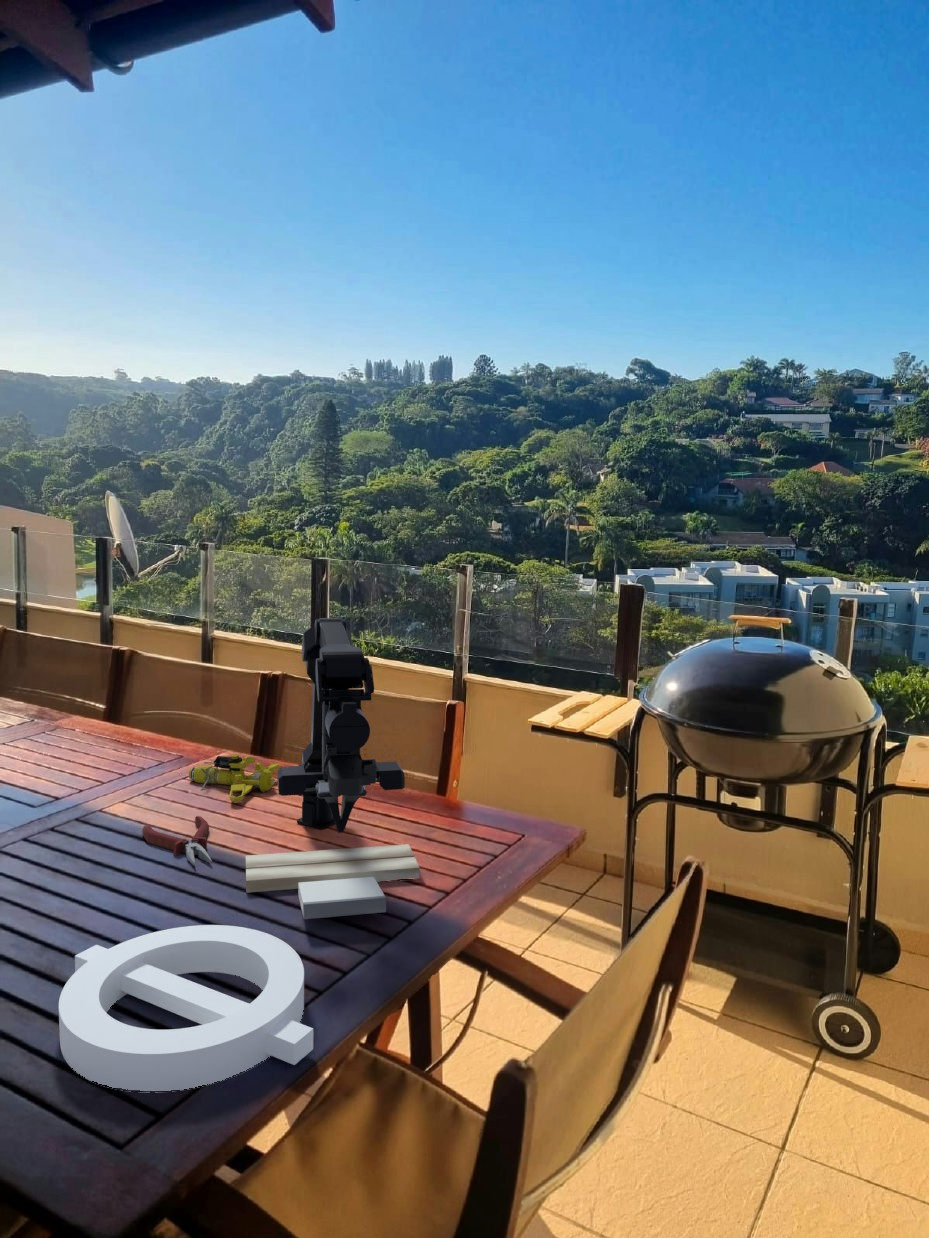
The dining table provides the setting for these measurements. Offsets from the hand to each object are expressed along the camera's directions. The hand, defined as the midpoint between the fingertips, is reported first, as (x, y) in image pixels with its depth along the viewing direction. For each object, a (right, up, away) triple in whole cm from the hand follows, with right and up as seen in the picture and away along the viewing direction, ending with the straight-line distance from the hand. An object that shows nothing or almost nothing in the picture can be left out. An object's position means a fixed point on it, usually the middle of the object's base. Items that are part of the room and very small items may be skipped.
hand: (340, 832), depth 134 cm
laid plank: (-3, -10, +13) cm, 17 cm away
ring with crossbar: (-15, -16, -27) cm, 35 cm away
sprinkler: (-32, -4, +54) cm, 63 cm away
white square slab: (-2, -10, +6) cm, 12 cm away
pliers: (-32, -9, +23) cm, 40 cm away
